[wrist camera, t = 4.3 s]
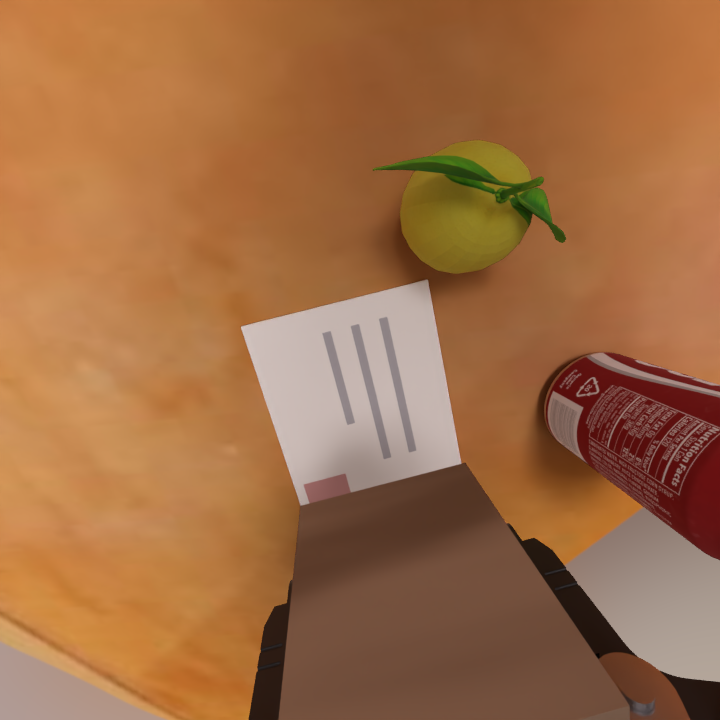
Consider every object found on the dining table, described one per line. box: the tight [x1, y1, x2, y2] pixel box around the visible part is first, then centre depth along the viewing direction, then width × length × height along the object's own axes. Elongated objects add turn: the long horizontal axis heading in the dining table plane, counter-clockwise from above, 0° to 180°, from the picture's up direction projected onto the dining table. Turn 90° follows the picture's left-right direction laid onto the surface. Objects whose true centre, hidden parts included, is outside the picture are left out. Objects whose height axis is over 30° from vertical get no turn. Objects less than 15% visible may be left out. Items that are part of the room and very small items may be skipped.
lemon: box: [373, 140, 566, 274], centre depth 15 cm, size 7×6×10 cm
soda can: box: [544, 352, 720, 560], centre depth 18 cm, size 7×7×12 cm
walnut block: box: [279, 463, 630, 720], centre depth 8 cm, size 5×5×6 cm
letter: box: [241, 280, 461, 505], centre depth 22 cm, size 14×11×1 cm
